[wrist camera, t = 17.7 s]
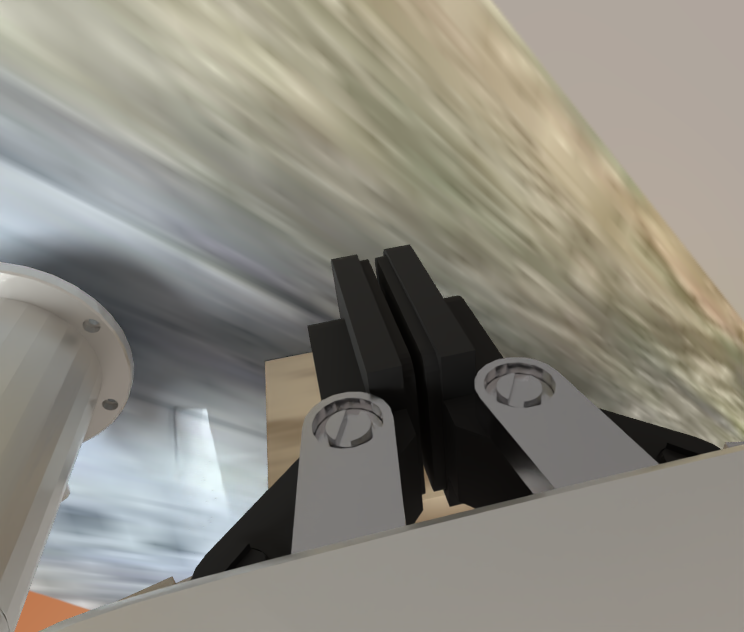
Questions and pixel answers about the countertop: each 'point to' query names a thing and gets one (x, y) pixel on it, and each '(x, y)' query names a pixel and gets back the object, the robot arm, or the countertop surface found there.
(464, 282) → the countertop surface
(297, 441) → the maple block
